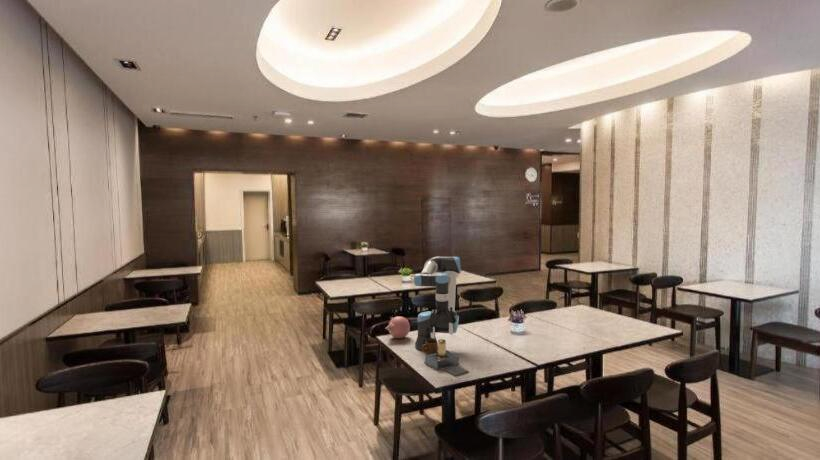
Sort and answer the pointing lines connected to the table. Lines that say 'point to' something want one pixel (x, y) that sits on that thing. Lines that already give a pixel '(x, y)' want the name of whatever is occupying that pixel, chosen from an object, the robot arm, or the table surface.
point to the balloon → (398, 327)
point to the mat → (456, 370)
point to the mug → (430, 347)
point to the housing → (441, 360)
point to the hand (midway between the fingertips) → (441, 335)
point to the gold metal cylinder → (441, 348)
